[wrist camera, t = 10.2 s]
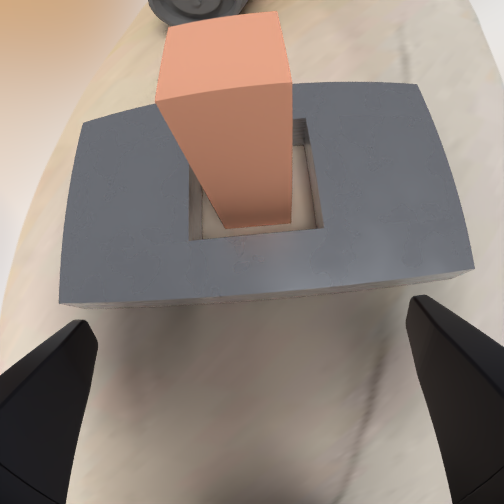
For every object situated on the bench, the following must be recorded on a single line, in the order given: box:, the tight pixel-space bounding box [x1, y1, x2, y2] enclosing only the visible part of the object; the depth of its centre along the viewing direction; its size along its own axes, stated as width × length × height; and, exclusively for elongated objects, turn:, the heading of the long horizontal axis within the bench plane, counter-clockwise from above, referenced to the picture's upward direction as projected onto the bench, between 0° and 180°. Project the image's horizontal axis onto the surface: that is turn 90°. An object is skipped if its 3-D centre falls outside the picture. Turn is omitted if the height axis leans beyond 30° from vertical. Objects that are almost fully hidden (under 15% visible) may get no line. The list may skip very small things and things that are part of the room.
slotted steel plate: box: [59, 82, 475, 309], centre depth 19 cm, size 13×24×3 cm, turn 94°
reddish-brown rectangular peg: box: [155, 11, 293, 229], centre depth 15 cm, size 4×4×12 cm
